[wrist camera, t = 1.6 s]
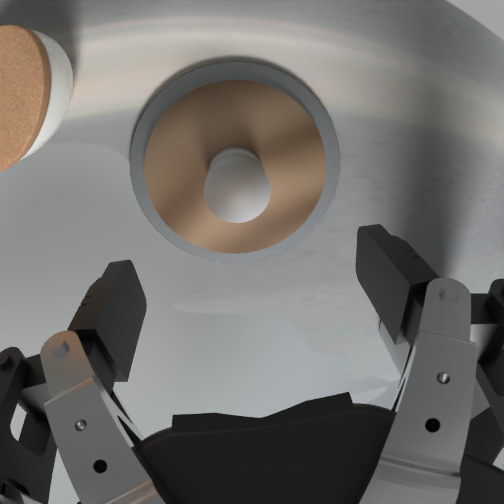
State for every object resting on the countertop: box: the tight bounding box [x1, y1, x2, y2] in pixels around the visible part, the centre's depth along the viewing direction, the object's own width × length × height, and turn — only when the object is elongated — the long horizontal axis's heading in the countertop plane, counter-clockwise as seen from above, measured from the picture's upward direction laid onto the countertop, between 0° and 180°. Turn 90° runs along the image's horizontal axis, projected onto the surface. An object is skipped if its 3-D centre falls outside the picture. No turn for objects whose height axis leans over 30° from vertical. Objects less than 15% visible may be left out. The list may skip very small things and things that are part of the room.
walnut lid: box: [144, 80, 326, 254], centre depth 21 cm, size 14×14×6 cm
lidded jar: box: [0, 24, 73, 172], centre depth 15 cm, size 11×11×9 cm
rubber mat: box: [130, 62, 340, 263], centre depth 24 cm, size 17×17×1 cm
